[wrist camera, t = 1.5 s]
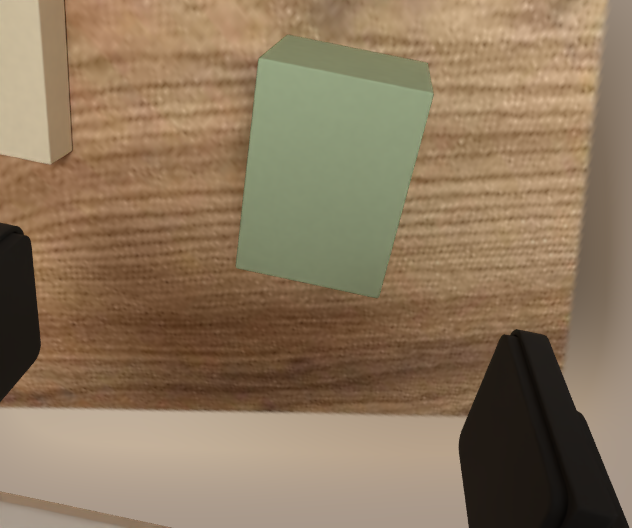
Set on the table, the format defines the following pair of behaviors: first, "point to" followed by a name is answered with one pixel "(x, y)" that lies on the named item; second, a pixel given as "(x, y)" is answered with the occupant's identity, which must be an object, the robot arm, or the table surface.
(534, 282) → the table surface
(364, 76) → the sage green block
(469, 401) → the table surface
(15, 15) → the beige button base
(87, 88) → the table surface
